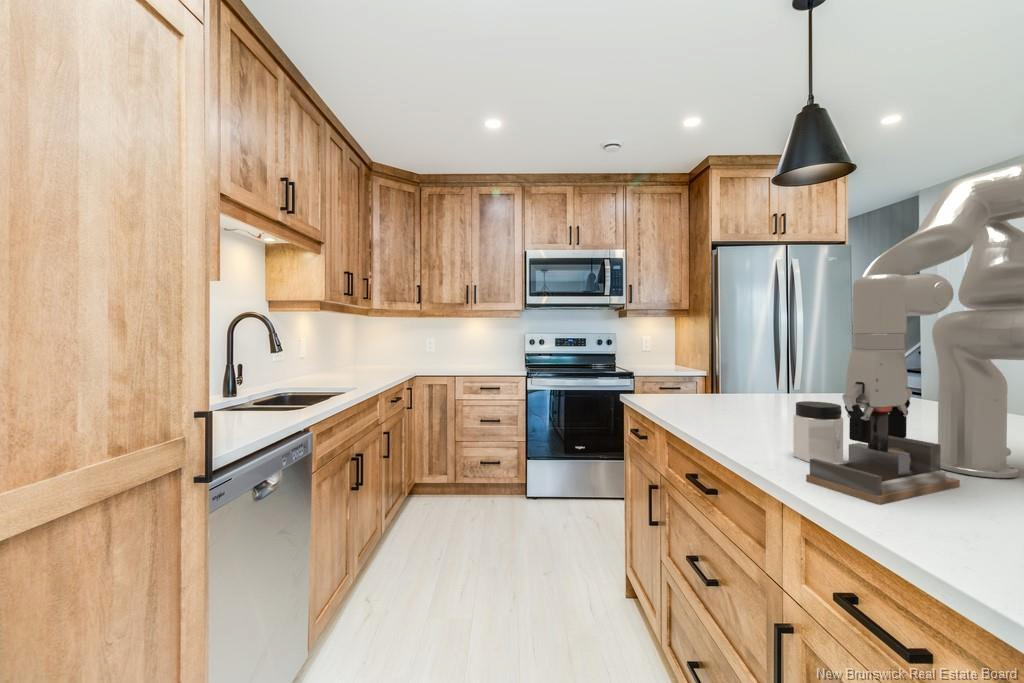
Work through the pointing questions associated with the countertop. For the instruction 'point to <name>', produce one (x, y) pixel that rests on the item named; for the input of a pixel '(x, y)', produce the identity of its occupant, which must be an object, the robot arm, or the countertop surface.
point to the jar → (818, 432)
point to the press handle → (879, 451)
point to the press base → (876, 490)
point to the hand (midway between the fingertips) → (877, 438)
